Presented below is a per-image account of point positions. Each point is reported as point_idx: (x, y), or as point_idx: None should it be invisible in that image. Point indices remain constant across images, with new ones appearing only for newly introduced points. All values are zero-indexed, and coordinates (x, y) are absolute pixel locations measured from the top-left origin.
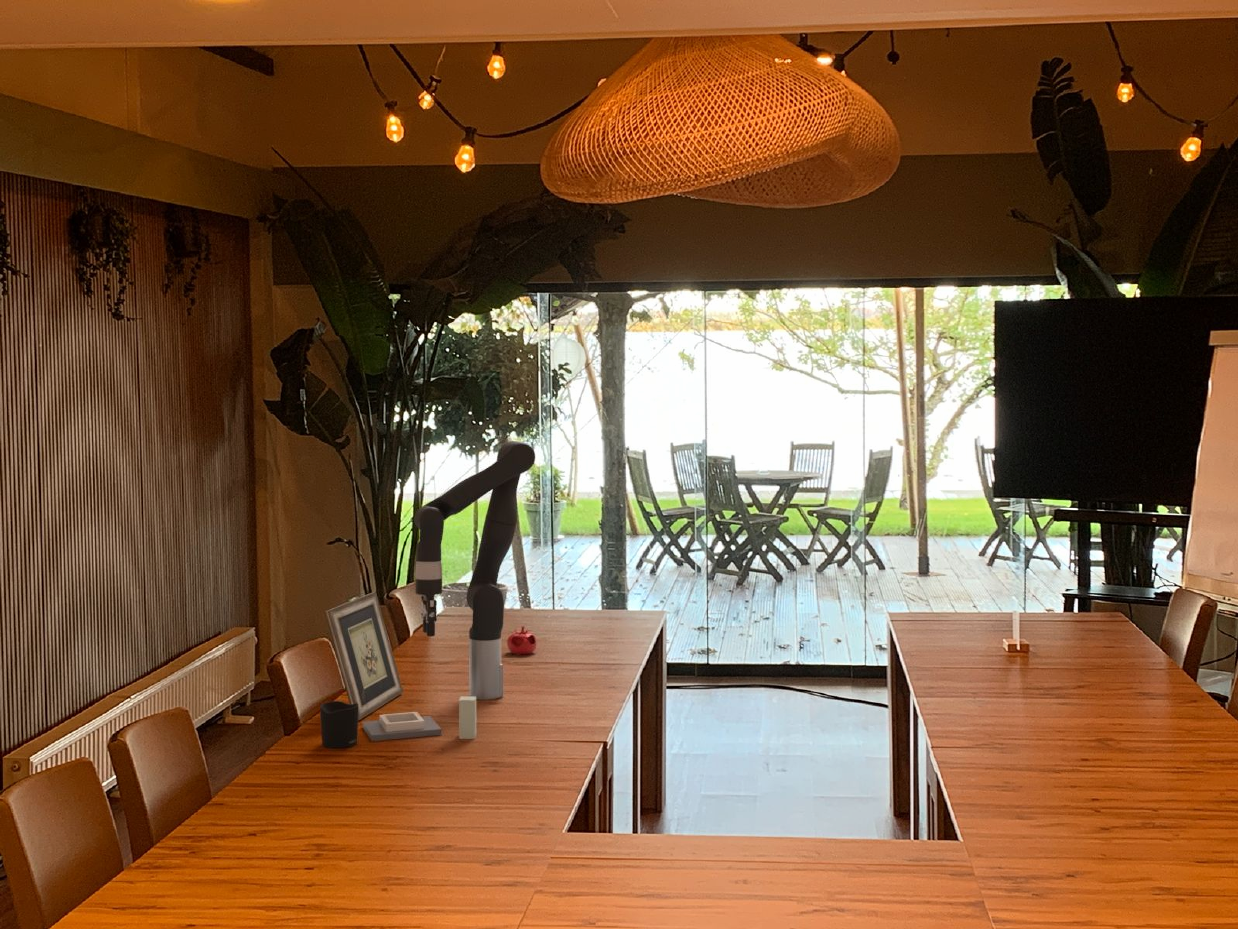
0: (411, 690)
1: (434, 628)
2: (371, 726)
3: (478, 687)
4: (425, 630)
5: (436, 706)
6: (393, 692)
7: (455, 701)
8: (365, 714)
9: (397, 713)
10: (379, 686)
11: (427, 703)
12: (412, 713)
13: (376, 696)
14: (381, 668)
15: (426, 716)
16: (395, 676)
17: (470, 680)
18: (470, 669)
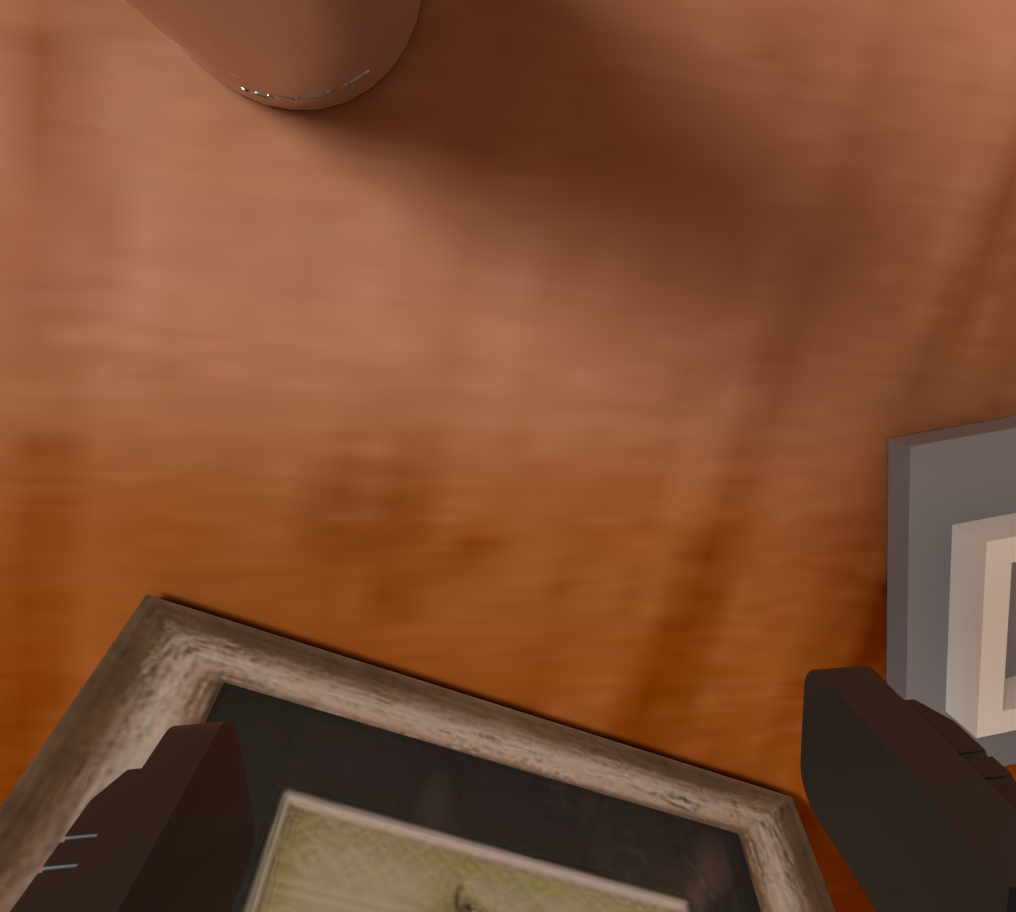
0: (37, 536)
1: (969, 770)
2: (1007, 743)
3: (402, 10)
4: (232, 836)
5: (535, 382)
6: (291, 670)
7: (416, 238)
8: (713, 780)
9: (985, 647)
10: (462, 801)
11: (442, 438)
12: (1009, 565)
13: (541, 778)
14: (329, 889)
15: (916, 468)
16: (146, 716)
17: (314, 67)
18: (293, 30)
